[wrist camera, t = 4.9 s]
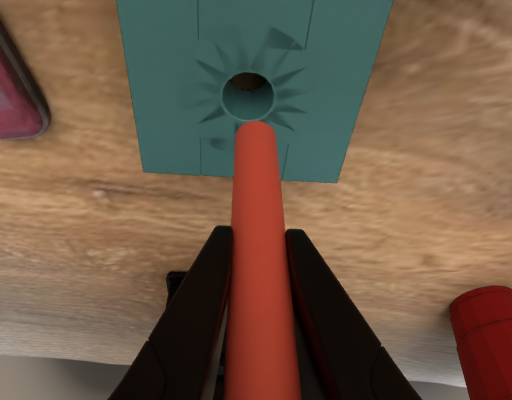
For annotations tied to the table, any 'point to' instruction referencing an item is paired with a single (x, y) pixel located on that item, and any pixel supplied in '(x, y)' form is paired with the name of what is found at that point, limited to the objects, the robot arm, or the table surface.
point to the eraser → (19, 96)
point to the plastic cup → (485, 341)
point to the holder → (253, 61)
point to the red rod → (259, 277)
